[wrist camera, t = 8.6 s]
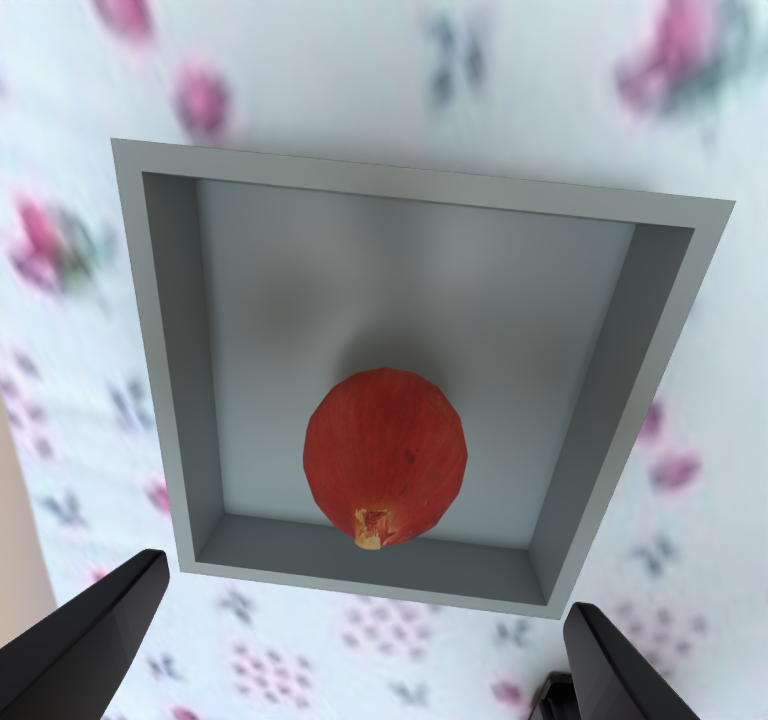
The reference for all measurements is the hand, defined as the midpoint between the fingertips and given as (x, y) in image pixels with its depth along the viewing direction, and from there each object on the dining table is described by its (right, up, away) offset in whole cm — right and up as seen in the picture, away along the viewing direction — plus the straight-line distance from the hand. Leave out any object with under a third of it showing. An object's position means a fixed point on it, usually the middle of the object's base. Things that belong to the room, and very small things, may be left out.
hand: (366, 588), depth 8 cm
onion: (+1, +3, +9) cm, 10 cm away
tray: (+1, +4, +10) cm, 10 cm away
